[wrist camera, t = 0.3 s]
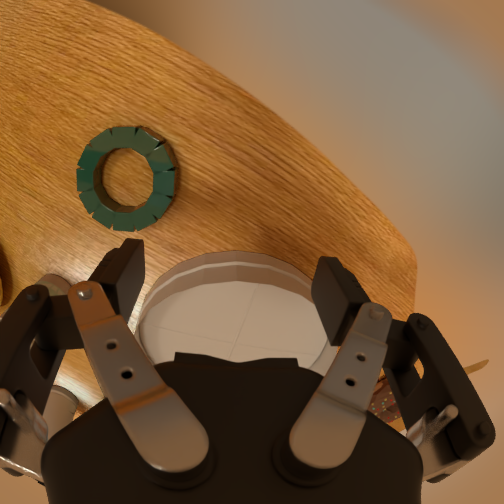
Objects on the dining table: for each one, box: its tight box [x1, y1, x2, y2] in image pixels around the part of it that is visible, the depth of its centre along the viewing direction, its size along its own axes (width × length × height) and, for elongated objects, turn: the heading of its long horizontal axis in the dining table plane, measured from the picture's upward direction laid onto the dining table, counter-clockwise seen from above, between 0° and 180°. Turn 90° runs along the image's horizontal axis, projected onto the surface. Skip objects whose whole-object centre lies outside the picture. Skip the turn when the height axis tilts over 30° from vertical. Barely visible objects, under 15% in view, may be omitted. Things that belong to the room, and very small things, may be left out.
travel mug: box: [33, 386, 78, 486], centre depth 29 cm, size 6×7×20 cm
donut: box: [368, 378, 401, 423], centre depth 40 cm, size 14×14×5 cm
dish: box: [134, 251, 338, 376], centre depth 30 cm, size 22×22×5 cm
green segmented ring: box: [76, 125, 179, 232], centre depth 22 cm, size 9×9×2 cm
